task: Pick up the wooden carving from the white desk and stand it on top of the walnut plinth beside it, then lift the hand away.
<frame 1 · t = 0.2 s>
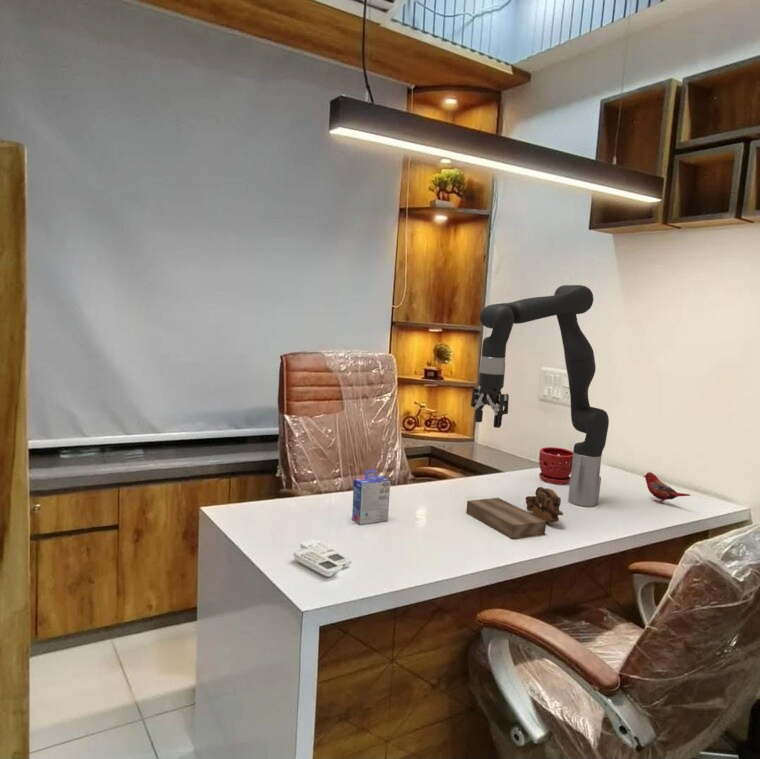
hand: (487, 424, 182), 28 cm above the table, tool pointing down, fingers open, 8 cm apart
ink cartridge box: (369, 520, 174), on the table
plant pot: (554, 481, 232), on the table
walnut plinth: (503, 523, 179), on the table
wooden carving: (541, 521, 185), on the table
decorative bird figurine: (663, 505, 210), on the table
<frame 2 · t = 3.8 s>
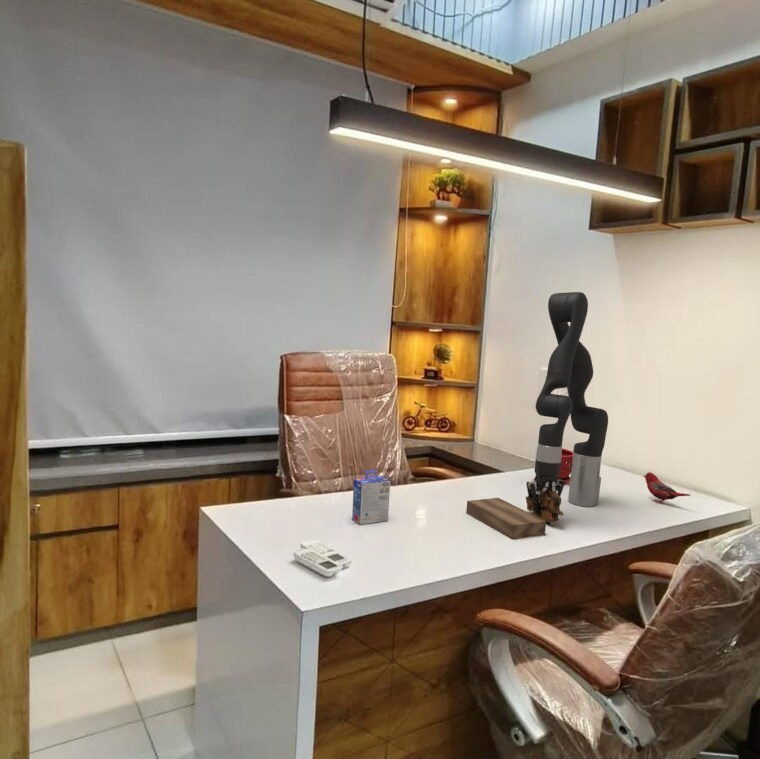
hand: (542, 513, 184), 2 cm above the table, tool pointing down, fingers closed on wooden carving, 4 cm apart
wooden carving: (542, 520, 185), on the table, touching gripper
everything else where it was.
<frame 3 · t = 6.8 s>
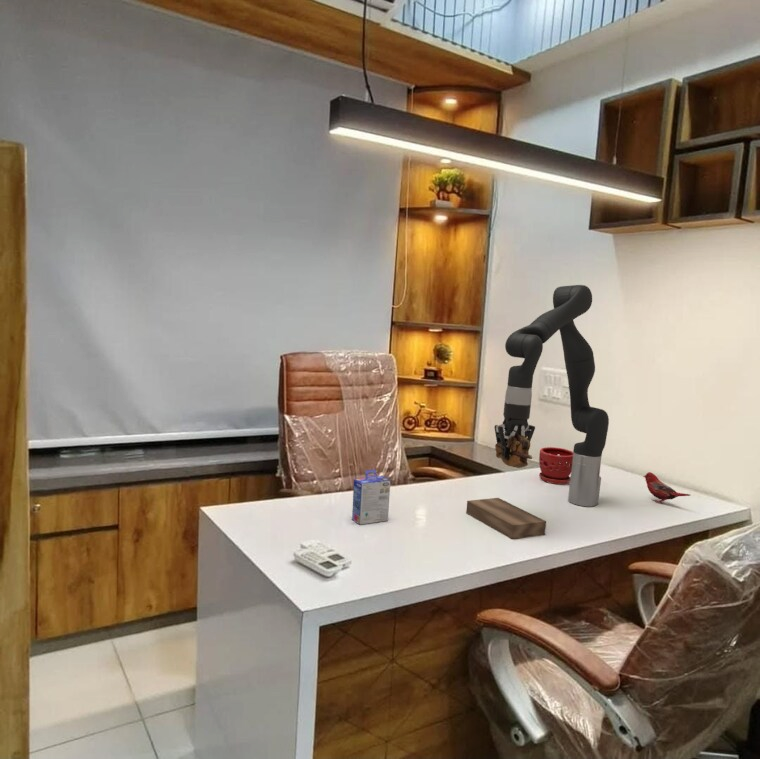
hand: (511, 458, 177), 20 cm above the table, tool pointing down, fingers closed on wooden carving, 4 cm apart
wooden carving: (510, 467, 177), point 17 cm above the table, touching gripper
everything else where it was.
when the fingers open (8 cm above the table, at t = 9.8 s): wooden carving drops 2 cm, resting on walnut plinth.
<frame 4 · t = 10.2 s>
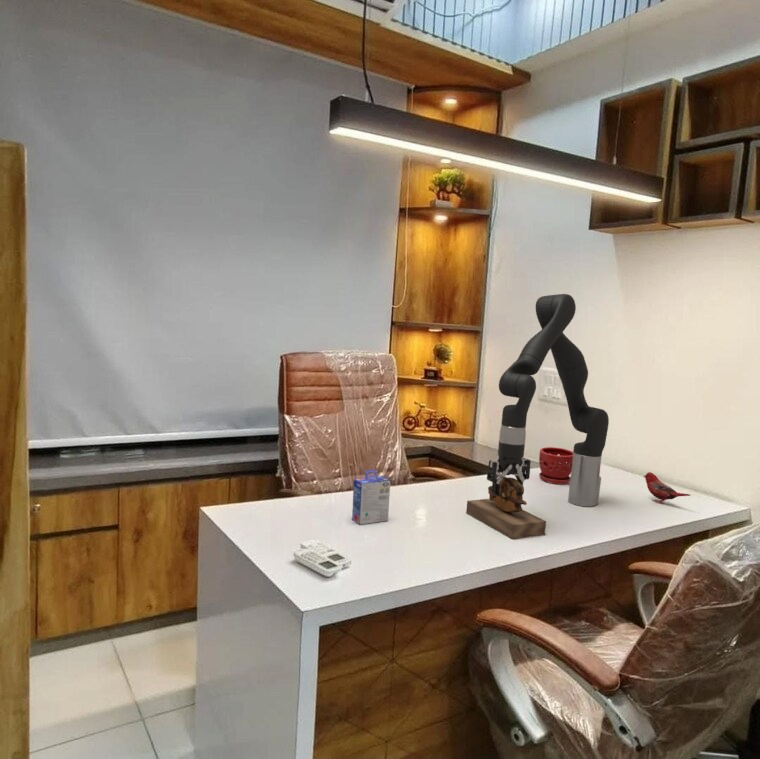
hand: (506, 494, 178), 9 cm above the table, tool pointing down, fingers open, 8 cm apart
wooden carving: (504, 511, 179), point 4 cm above the table, touching walnut plinth
everything else where it was.
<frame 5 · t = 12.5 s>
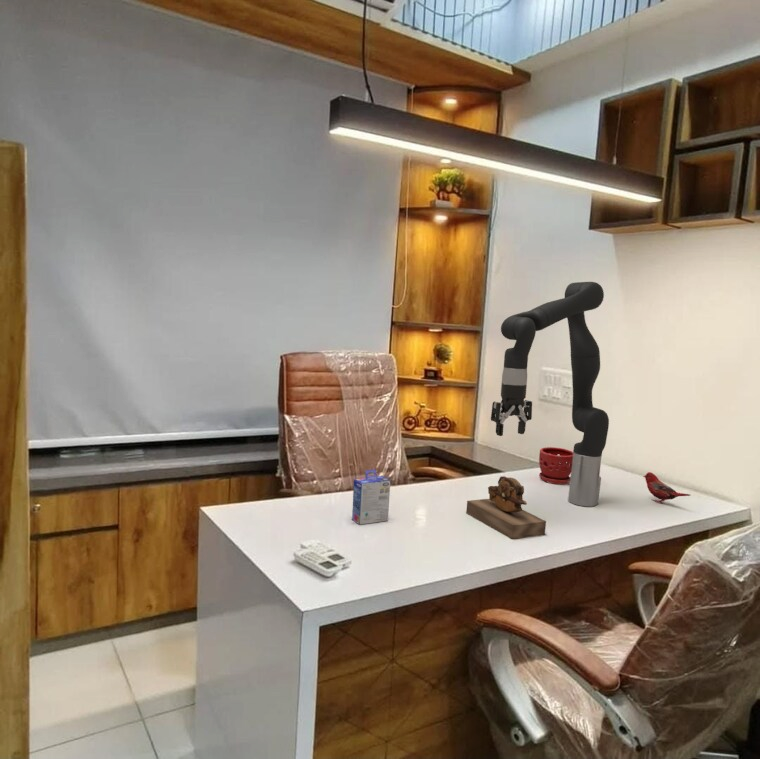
hand: (510, 434, 185), 25 cm above the table, tool pointing down, fingers open, 8 cm apart
nothing on the table moved.
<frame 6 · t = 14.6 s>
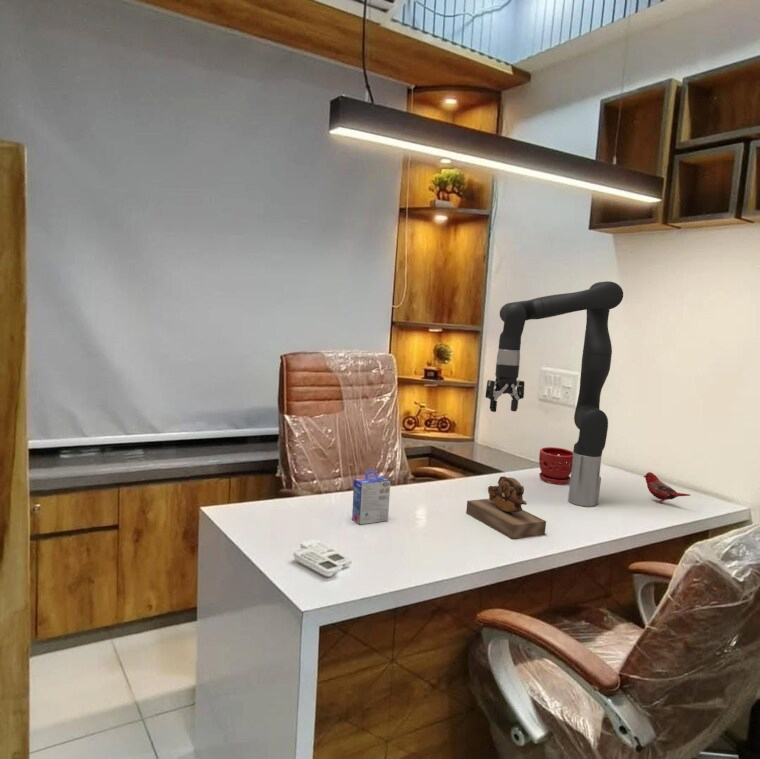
hand: (503, 411, 200), 30 cm above the table, tool pointing down, fingers open, 8 cm apart
nothing on the table moved.
at the end: wooden carving inside the target area on the walnut plinth (0.1 cm from its centre), point 3.8 cm above the walnut plinth's base; wooden carving tilted 0°; wooden carving touching walnut plinth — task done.
